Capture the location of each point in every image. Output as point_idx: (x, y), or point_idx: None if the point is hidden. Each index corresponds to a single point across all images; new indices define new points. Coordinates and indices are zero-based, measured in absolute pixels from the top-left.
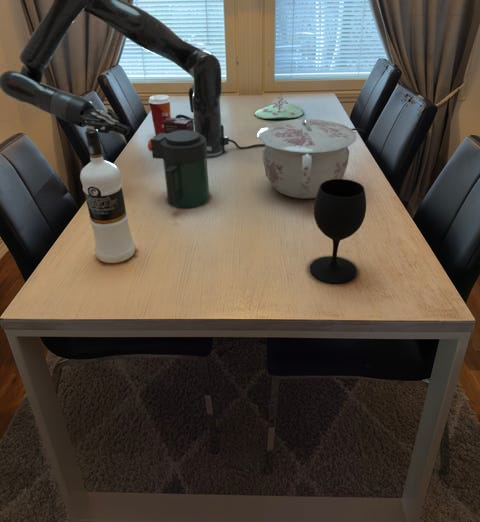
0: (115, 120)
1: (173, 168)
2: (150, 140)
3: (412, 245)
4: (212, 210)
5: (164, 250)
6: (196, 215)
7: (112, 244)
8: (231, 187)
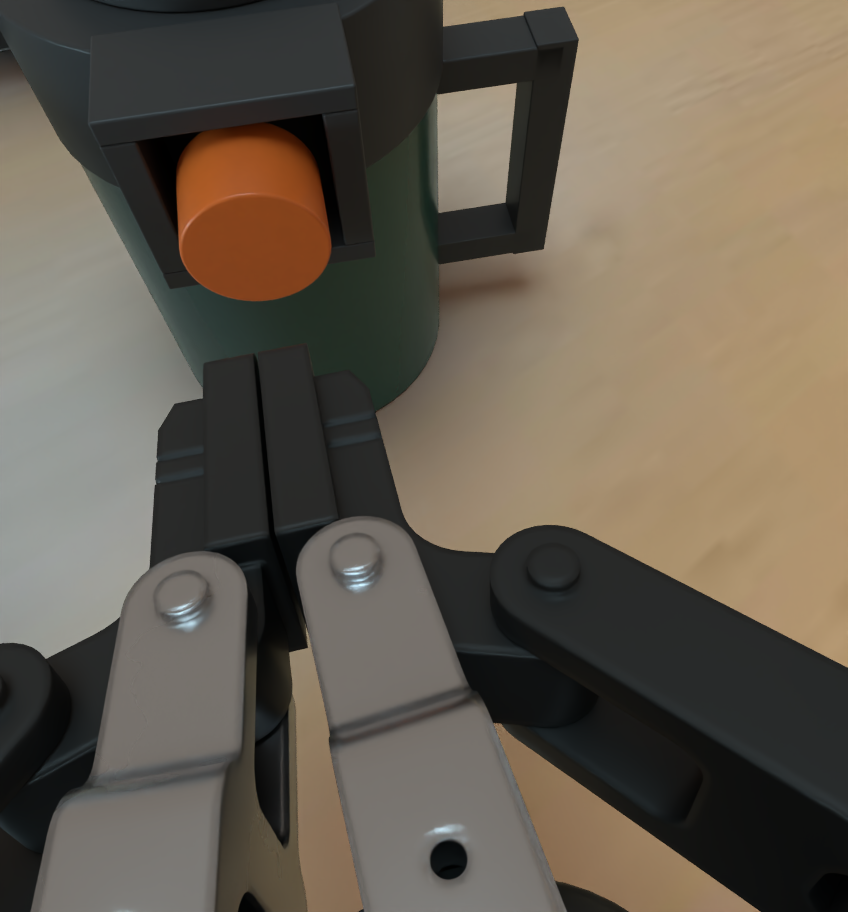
0: (189, 596)
1: (507, 24)
2: (271, 180)
3: None
4: None
5: (819, 154)
6: (471, 199)
7: None
8: (90, 209)
